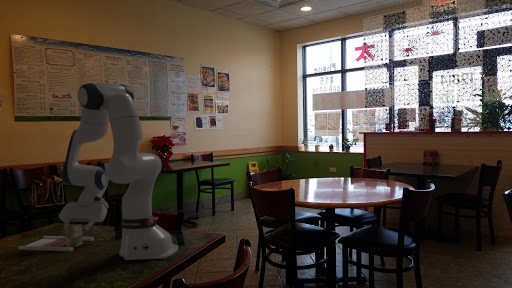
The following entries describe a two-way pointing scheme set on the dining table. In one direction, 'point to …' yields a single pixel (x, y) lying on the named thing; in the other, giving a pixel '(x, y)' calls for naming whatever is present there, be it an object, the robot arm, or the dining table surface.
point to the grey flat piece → (51, 244)
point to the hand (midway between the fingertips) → (75, 229)
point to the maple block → (73, 235)
